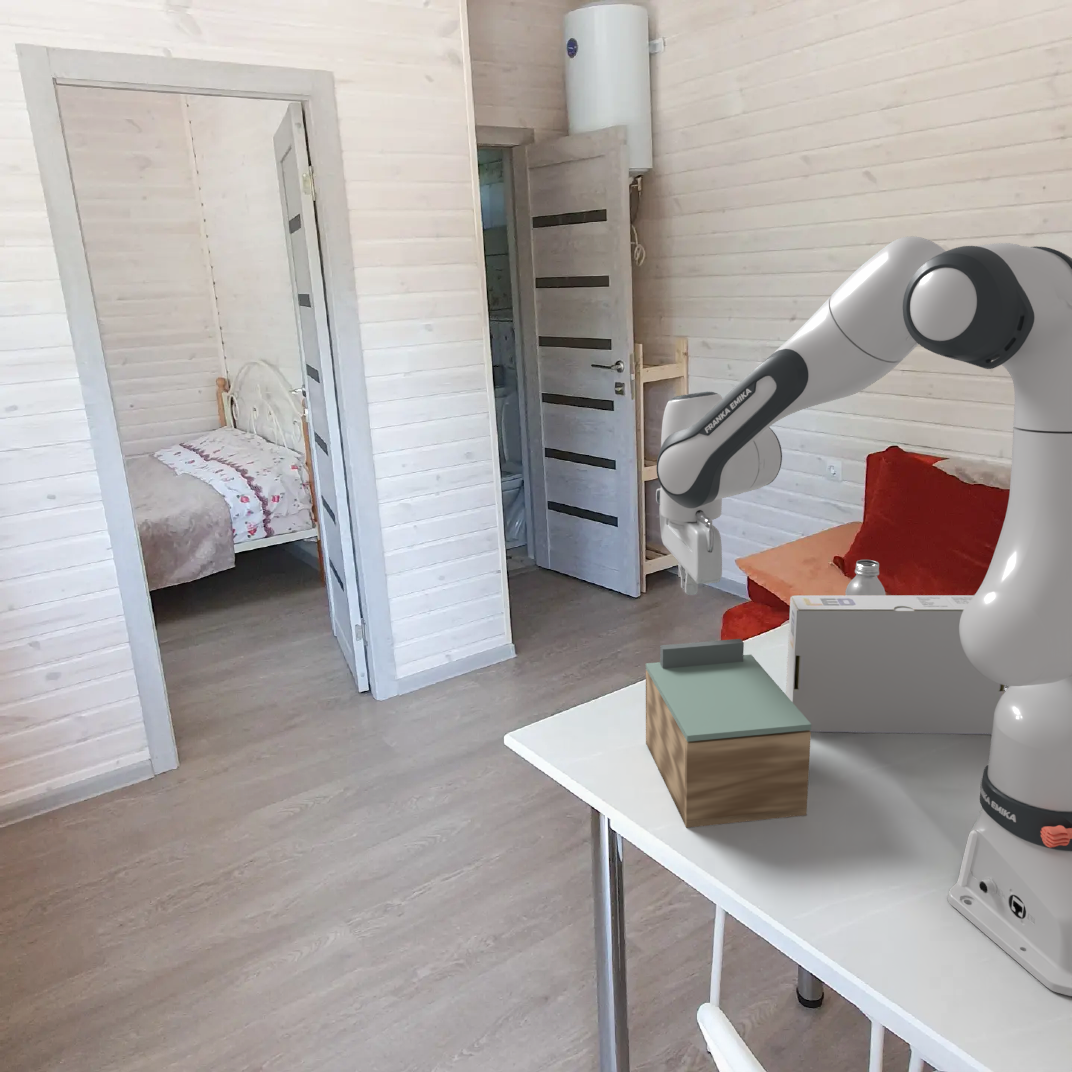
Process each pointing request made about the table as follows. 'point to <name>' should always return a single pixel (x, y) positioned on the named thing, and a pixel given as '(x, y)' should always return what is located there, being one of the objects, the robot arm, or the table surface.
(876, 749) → the table surface
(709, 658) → the lid
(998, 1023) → the table surface
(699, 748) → the wooden box
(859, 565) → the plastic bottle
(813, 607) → the packaging
